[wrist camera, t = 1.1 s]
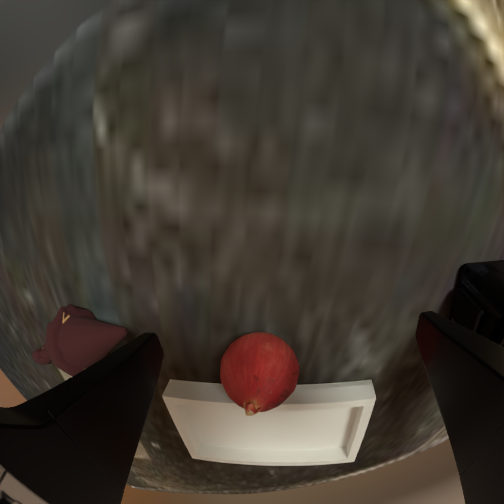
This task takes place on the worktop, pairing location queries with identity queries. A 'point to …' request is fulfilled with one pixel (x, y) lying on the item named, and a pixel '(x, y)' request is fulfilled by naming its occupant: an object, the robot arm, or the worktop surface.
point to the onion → (259, 372)
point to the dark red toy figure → (77, 340)
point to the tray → (273, 424)
